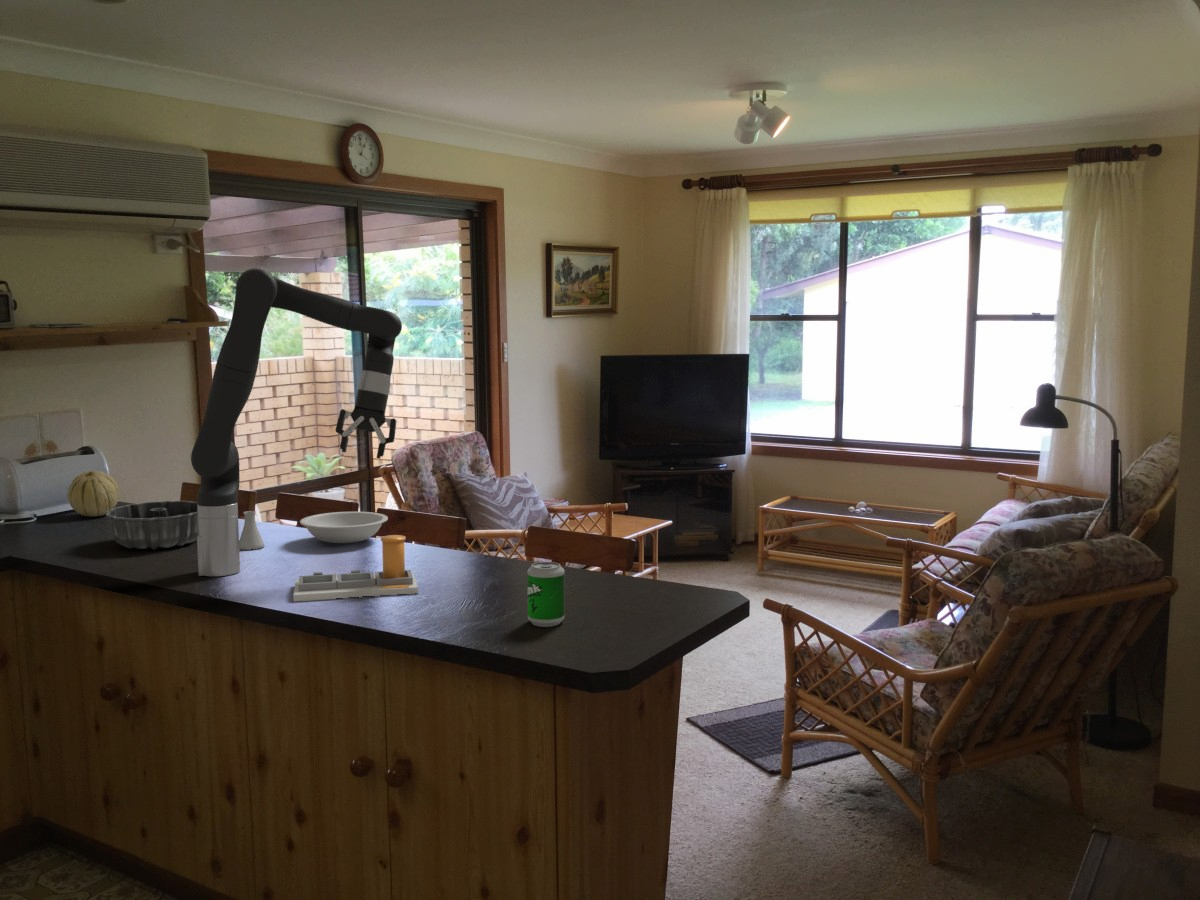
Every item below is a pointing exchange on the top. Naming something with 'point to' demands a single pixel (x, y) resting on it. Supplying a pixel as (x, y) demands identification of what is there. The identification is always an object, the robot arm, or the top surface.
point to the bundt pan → (154, 524)
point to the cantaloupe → (93, 493)
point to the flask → (250, 533)
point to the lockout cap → (393, 556)
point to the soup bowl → (344, 526)
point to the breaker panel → (352, 585)
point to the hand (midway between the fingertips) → (361, 455)
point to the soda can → (546, 594)
